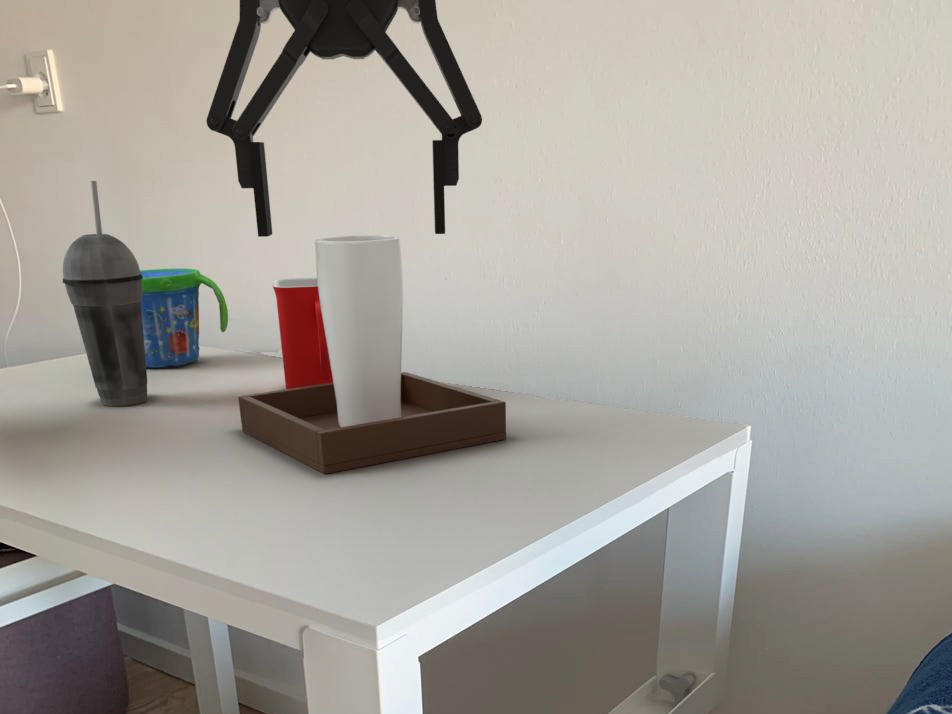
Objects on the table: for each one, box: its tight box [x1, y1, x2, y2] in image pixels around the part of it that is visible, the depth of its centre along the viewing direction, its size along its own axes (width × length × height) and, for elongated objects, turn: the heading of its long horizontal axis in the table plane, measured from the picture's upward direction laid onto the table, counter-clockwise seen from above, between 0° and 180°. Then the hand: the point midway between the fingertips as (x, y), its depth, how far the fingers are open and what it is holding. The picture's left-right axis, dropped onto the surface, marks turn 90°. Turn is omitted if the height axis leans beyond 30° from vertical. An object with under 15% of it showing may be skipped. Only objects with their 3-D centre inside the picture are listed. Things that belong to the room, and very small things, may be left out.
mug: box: [272, 276, 333, 389], centre depth 98 cm, size 12×8×11 cm
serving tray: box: [237, 371, 507, 475], centre depth 85 cm, size 17×17×3 cm
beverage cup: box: [62, 180, 149, 407], centre depth 96 cm, size 7×7×20 cm
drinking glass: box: [314, 234, 404, 427], centre depth 82 cm, size 7×7×15 cm
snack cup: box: [140, 267, 229, 369], centre depth 116 cm, size 16×10×10 cm
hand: (353, 234), depth 78 cm, fingers open, 13 cm apart
